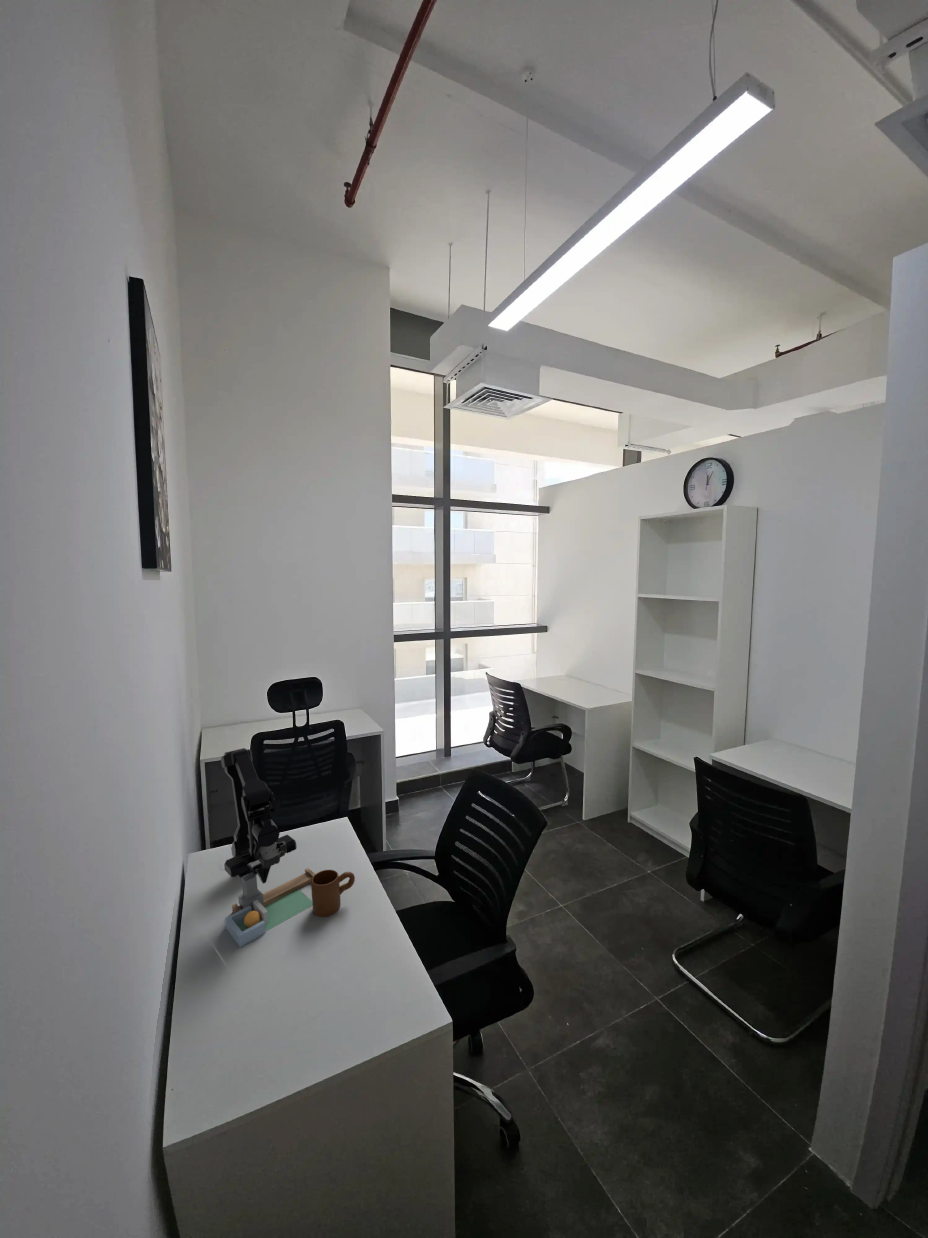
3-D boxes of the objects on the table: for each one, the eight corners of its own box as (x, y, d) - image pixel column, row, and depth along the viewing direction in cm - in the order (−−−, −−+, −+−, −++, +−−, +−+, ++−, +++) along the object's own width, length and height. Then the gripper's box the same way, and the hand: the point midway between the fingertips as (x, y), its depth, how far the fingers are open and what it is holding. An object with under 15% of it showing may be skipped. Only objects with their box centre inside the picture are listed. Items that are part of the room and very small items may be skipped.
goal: (225, 928, 130) (224, 918, 130) (250, 915, 135) (249, 905, 135) (240, 947, 123) (239, 936, 123) (265, 933, 128) (264, 922, 128)
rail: (232, 913, 136) (231, 905, 136) (308, 875, 153) (307, 867, 152) (239, 921, 133) (238, 913, 133) (316, 881, 149) (315, 874, 149)
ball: (239, 917, 130) (252, 905, 132) (246, 927, 131) (259, 914, 134) (244, 924, 127) (258, 911, 129) (252, 934, 128) (265, 921, 131)
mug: (354, 892, 143) (352, 862, 142) (358, 908, 136) (356, 877, 135) (311, 904, 139) (309, 873, 138) (314, 921, 132) (312, 889, 131)
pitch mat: (225, 927, 131) (225, 926, 131) (298, 889, 146) (298, 889, 146) (239, 946, 124) (239, 945, 124) (315, 904, 139) (315, 904, 139)
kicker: (239, 906, 138) (236, 877, 137) (256, 897, 141) (254, 869, 140) (256, 927, 129) (254, 896, 128) (275, 917, 132) (272, 887, 132)
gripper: (236, 856, 126) (241, 912, 128) (303, 828, 139) (307, 879, 141) (221, 841, 134) (226, 894, 136) (286, 815, 147) (289, 864, 149)
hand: (263, 882), depth 140 cm, fingers closed
